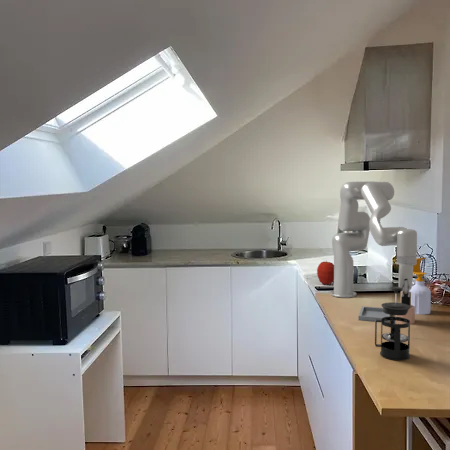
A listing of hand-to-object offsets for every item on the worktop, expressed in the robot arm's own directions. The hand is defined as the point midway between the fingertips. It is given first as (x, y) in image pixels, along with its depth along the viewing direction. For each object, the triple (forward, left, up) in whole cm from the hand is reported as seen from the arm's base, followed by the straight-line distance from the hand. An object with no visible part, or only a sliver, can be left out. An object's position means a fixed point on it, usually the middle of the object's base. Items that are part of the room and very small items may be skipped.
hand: (405, 304), depth 196 cm
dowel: (0, 0, -7) cm, 7 cm away
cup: (0, 0, -8) cm, 8 cm away
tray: (-4, -12, -8) cm, 15 cm away
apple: (-64, -42, -8) cm, 77 cm away
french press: (+39, -3, -8) cm, 40 cm away
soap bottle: (-17, +6, -8) cm, 20 cm away
